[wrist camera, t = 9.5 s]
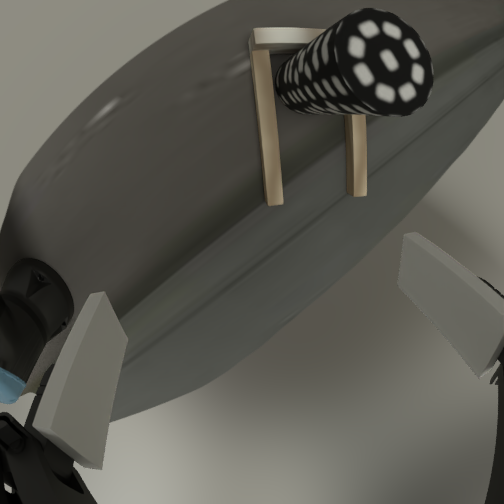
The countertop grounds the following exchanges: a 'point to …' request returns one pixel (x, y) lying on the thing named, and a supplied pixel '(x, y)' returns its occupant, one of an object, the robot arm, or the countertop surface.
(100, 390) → the robot arm
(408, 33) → the white-spotted black cylinder
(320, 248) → the countertop surface
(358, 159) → the guide channel
